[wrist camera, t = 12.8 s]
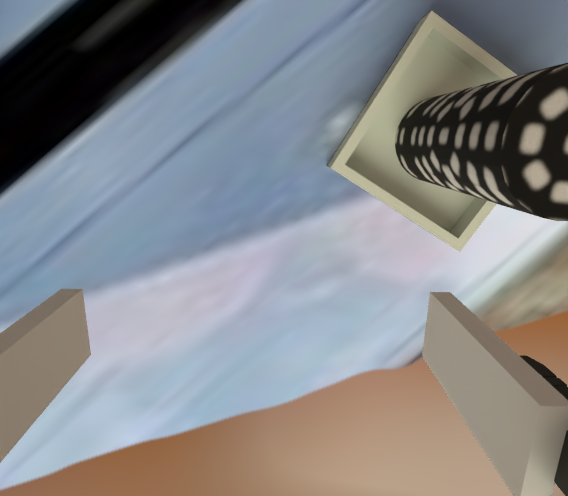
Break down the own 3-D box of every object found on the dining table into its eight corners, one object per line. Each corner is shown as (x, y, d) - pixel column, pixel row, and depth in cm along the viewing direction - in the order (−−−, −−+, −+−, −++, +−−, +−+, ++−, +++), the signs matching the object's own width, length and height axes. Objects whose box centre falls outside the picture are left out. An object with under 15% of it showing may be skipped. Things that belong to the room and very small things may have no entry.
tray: (326, 165, 42) (330, 168, 39) (420, 20, 38) (431, 10, 35) (448, 244, 44) (459, 251, 41) (546, 114, 40) (566, 112, 38)
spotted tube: (485, 101, 39) (683, 67, 20) (466, 185, 42) (629, 227, 22) (402, 92, 39) (523, 49, 20) (388, 177, 41) (484, 213, 22)
